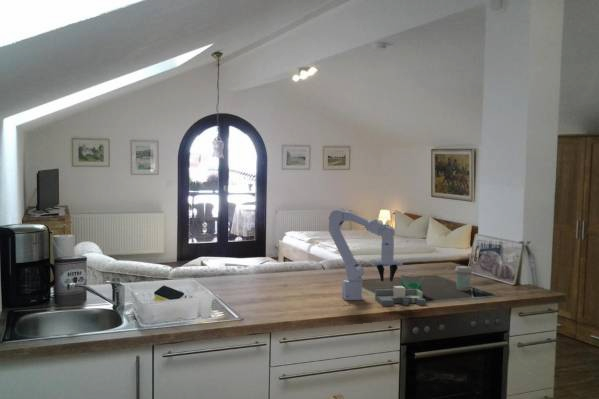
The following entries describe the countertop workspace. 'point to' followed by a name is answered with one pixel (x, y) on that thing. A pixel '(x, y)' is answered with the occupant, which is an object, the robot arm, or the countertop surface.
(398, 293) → the cream block
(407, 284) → the food container
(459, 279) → the coffee cup
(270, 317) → the countertop surface
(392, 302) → the trap board
